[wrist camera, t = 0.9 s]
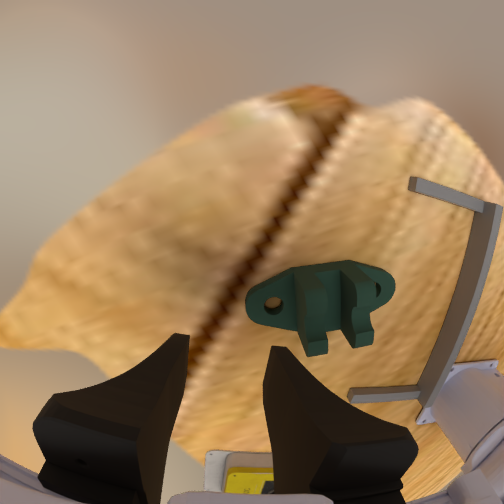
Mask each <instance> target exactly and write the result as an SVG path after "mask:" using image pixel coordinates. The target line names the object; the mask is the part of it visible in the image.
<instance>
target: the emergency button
mask: <svg viewBox="0 0 504 504" xmlns="http://www.w3.org/2000/svg"><path fill="white" fill-rule="evenodd" d="M204 490H206V491H213V492H224V493H239V494H274V476H273V459H272V452H242V451H227V450H210V451H207V453H206V458H205V473H204Z"/></svg>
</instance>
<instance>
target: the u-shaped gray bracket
mask: <svg viewBox="0 0 504 504" xmlns="http://www.w3.org/2000/svg"><path fill="white" fill-rule="evenodd" d="M408 190H410V191H413V192H417V193H420V194H423V195H427V196H430V197H433V198H436V199H440V200H443V201H446V202H449V203H452V204H455V205H458V206H461V207H464V208H467V209H470V210H472V211H475V214H474V219H473V224H472V229H471V233H470V238H469V242H468V246H467V250H466V254H465V258H464V262H463V265H462V269H461V272H460V276H459V279H458V283H457V286H456V289H455V292H454V295H453V298H452V301H451V304H450V307H449V310H448V313H447V315H446V318H445V321H444V324H443V326H442V329H441V331H440V334H439V336H438V339H437V341H436V344H435V346H434V349H433V351H432V353H431V356H430V358H429V360H428V362H427V365H426V367H425V369H424V371H423V373H422V375H421V377H420V380H419V382H418V384H417V385H412V386H397V387H376V388H350V390H349V393H348V395H347V398H348V400H349V402H350V403H373V402H389V401H401V400H411V399H418V401H419V402H420V404H421V405H422V406H423V408H428V407H432V405H433V403H434V401H435V399H436V398H437V396H438V394H439V392H440V390H441V388H442V386H443V385H444V383H445V381H446V379H447V377H448V375H449V373H450V371H451V368H452V366H453V364H454V362H455V360H456V358H457V356H458V353H459V351H460V349H461V347H462V344H463V342H464V340H465V337H466V335H467V332H468V330H469V327H470V325H471V322H472V319H473V317H474V314H475V311H476V309H477V306H478V303H479V300H480V297H481V294H482V291H483V288H484V285H485V281H486V278H487V275H488V271H489V268H490V264H491V260H492V257H493V253H494V249H495V245H496V240H497V236H498V231H499V226H500V222H501V216H502V211H503V207H502V206H500V205H498V204H495V203H490V202H485V201H482V200H480V199H477V198H475V197H472V196H469V195H467V194H464V193H462V192H459V191H456V190H453V189H451V188H448V187H445V186H442V185H439V184H436V183H433V182H430V181H427V180H424V179H421V178H418V177H410V183H409V189H408Z"/></svg>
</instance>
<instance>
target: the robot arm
mask: <svg viewBox="0 0 504 504" xmlns="http://www.w3.org/2000/svg"><path fill="white" fill-rule="evenodd" d="M189 339H190V335H184V334H178V333H174V334H173V335H171V337H170V338H169V339H168V340H167V341H166V342H165V343H163V344H162V345H161V346H160V347H159V348H158V349H157V350H156V351H155V352H153V353H152V354H151V355H150V356H149V357H147V358H146V359H145V360H143V361H142V362H140V363H139V364H138V365H136V366H135V367H133V368H132V369H130V370H128V371H127V372H125V373H123V374H121V375H119V376H117V377H115V378H112V379H110V380H108V381H105V382H103V383H100V384H97V385H94V386H91V387H87V388H84V389H80V390H75V391H69V392H63V393H57V394H53V396H52V397H51V398H50V399H49V400H48V401H47V403H46V404H45V406H44V407H43V408H42V410H41V412H40V413H39V414H38V416H37V417H36V419H35V421H34V422H33V432H34V436H35V438H36V440H37V443H38V445H39V447H40V449H41V451H42V453H43V455H44V457H45V459H46V461H45V463H44V465H43V467H42V469H41V471H40V473H39V474H38V473H35V472H33V471H31V470H29V469H27V468H25V467H23V466H21V465H19V464H17V463H15V462H13V461H11V460H10V459H8V458H6V457H4V456H2V455H1V454H0V504H160V501H161V492H162V485H163V478H164V470H165V464H166V458H167V452H168V446H169V441H170V437H171V434H172V430H173V427H174V424H175V420H176V417H177V414H178V411H179V407H180V404H181V401H182V398H183V394H184V388H185V383H186V377H187V365H188V351H189ZM498 362H499V361H498V360H496V359H495V360H487V361H478V362H468V363H457V364H453V366H452V368H451V371H450V373H449V375H448V377H447V379H446V381H445V383H444V385H443V386H442V388H441V390H440V392H439V394H438V396H437V398H436V399H435V401H434V403H433V405H432V407H428V408H423V410H422V411H421V413H420V415H419V416H418V418H417V420H416V424H417V425H421V424H426V423H432V422H437V424H438V425H439V427H440V428H441V429H442V431H443V432H444V434H445V435H446V437H447V438H448V439H449V441H450V442H451V444H452V445H453V447H454V448H455V450H456V451H457V453H458V454H459V456H460V457H461V458H462V460H463V461H464V463H465V464H464V465H463V466H462V467H461V470H462V471H463V473H464V474H463V475H461V476H459V477H458V478H456V479H455V480H454V481H453V482H452V483H451V484H450V485H449V487H448V488H447V489H446V490H444V491H441V492H438V493H435V494H432V495H429V496H426V497H423V498H420V499H417V500H413V501H410V502H406V503H405V501H404V498H403V496H402V494H401V492H400V490H401V489H402V488H403V483H402V481H401V479H400V478H401V477H402V476H403V475H404V474H405V472H406V471H407V470H408V468H409V467H410V466H411V465H412V463H413V462H414V460H415V458H416V457H417V454H418V450H419V449H418V445H417V443H416V442H415V440H414V438H413V437H412V435H411V433H410V432H409V430H408V428H406V427H403V426H400V425H396V424H393V423H390V422H387V421H384V420H381V419H379V418H376V417H374V416H372V415H369V414H367V413H365V412H363V411H361V410H359V409H358V408H356V407H354V406H352V405H350V404H349V403H347V402H346V401H344V400H342V399H341V398H340V397H338V396H337V395H335V394H334V393H333V392H331V391H330V390H329V389H327V388H326V387H325V386H324V385H323V384H322V383H320V382H319V381H318V380H317V379H316V378H315V377H314V376H313V375H312V374H311V373H310V372H309V371H308V370H307V369H306V368H305V367H304V366H303V365H302V364H301V363H300V362H299V360H298V359H297V358H296V357H295V356H294V355H293V354H292V353H291V351H290V350H289V349H288V348H287V347H281V346H271V350H270V355H269V359H268V363H267V368H266V372H265V376H264V380H263V405H264V411H265V416H266V422H267V427H268V432H269V437H270V443H271V449H272V459H273V476H274V494H239V493H224V492H213V491H188V492H185V493H181V494H177V495H174V496H172V497H171V498H170V500H169V501H168V502H167V504H504V376H503V375H502V374H501V373H500V372H499V371H498V370H497V369H496V367H497V365H498Z"/></svg>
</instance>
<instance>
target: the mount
mask: <svg viewBox="0 0 504 504" xmlns="http://www.w3.org/2000/svg"><path fill="white" fill-rule="evenodd" d="M374 282H376V286H375V283H374ZM394 292H395V280H394V278H393V277H392V275H390V274H389V273H388V272H386V271H385V270H383V269H381V268H378V267H374V266H370V265H366V264H363V263H359V262H355V261H351V260H345V261H338V262H330V263H323V264H315V265H308V266H300V267H292V268H289V269H287V270H286V271H284V272H282V273H280V274H278V275H276V276H274V277H272V278H270V279H268V280H266V281H264V282H262V283H260V284H258V285H256V286H254V287H253V288H252V289H250V291H249V292H248V293H247V296H246V299H245V304H246V312H247V315H248V317H249V318H250V319H251V320H252V321H253V322H255V323H257V324H261V325H266V326H271V327H276V328H281V329H286V330H292V331H297V332H298V334H299V337H300V340H301V342H302V345H303V348H304V350H305V353H306V356H307V357H311V356H317V355H323V354H327V353H328V338H327V335H326V332H328V331H334V330H339V329H341V331H342V333H343V334H344V336H345V337H346V339H347V340H348V342H349V344H350V345H351V347H352V348H353V349H354V348H359V347H363V346H368V345H372V344H373V340H374V329H373V327H372V325H371V321H370V313H371V312H372V311H374V310H376V309H378V308H379V307H381V306H383V305H384V304H386V303H387V302H388V301H389V300H390V299H391V298H392V296H393V294H394ZM271 297H278V298H280V299H281V300H282V302H281V305H280V306H279V307H277V308H275V309H268V308H266V307H265V306H264V303H265V302H266V300H267V299H269V298H271Z"/></svg>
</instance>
